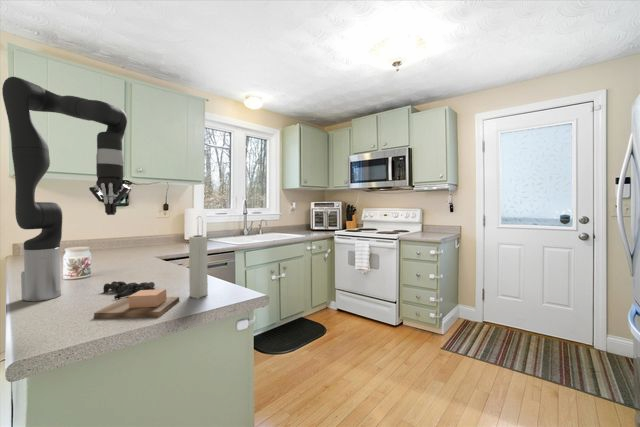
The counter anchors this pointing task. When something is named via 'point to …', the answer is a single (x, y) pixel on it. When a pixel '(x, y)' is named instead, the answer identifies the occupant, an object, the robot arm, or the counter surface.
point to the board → (135, 309)
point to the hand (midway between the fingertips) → (110, 214)
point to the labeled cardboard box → (147, 298)
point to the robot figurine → (127, 288)
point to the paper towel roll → (198, 266)
